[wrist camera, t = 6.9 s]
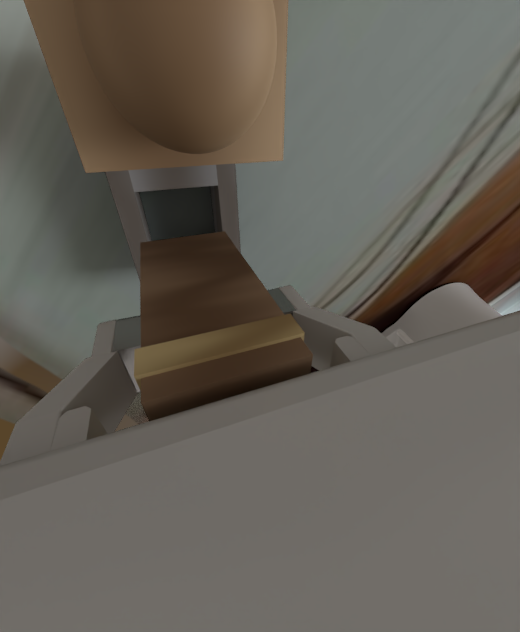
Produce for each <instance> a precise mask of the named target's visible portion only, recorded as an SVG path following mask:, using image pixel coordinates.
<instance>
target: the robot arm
mask: <svg viewBox="0 0 520 632" xmlns="http://www.w3.org/2000/svg"><path fill="white" fill-rule="evenodd" d="M267 291H268V292H269V294H270V295H271V297H272V298H273V299H274V301H275V302H276V304H277V305H278V306H279V308H280V309H281V311H282V312H283V313H284V315H286V314H291V315H292V316H293V318H294V319H295V320H296V322H297V323H298V324H299V326H300V327H301V328H302V330H303V331H304V332H305V336H304V343H305V344H306V345H307V347H308V348H309V350H310V351H311V352H312V354H313V359H312V365H311V366H313V367H314V368H316V369H317V370H319V371H316V372H313V373H310V374H306V375H303V376H299V377H296V378H293V379H289V380H286V381H283V382H279V383H276V384H272V385H269V386H266V387H262V388H259V389H256V390H252V391H249V392H246V393H242V394H239V395H236V396H232V397H229V398H226V399H222V400H219V401H216V402H212V403H209V404H206V405H202V406H199V407H196V408H192V409H189V410H186V411H182V412H179V413H176V414H172V415H169V416H166V417H162V418H159V419H156V420H152V421H149V422H146V423H142V424H139V425H135V426H132V427H129V428H125V429H122V430H119V431H115V430H116V428H117V426H118V425H119V423H120V421H121V420H122V418H123V416H124V415H125V413H126V411H127V410H128V408H129V406H130V405H131V403H132V401H133V400H134V398H135V396H136V395H137V393H136V392H140V389H139V386H138V384H137V382H136V380H135V378H134V353H135V349H138V348H141V315H140V316H135V317H129V318H124V319H118V320H112V321H107V322H103V323H100V324H98V327H97V331H96V336H95V341H94V346H93V351H92V356H91V357H89V358H86V359H85V360H84V361H82V362H81V363H80V364H79V365H78V366H77V367H76V368H75V369H74V370H73V371H72V372H71V373H70V374H68V375H67V376H66V377H65V378H64V379H63V380H62V381H61V382H60V383H59V384H58V385H57V386H56V387H54V388H53V389H52V390H51V391H50V392H49V393H48V394H47V395H46V396H45V397H44V398H43V399H42V400H40V401H39V402H38V403H37V404H36V405H35V406H34V407H33V408H32V409H31V410H30V411H29V412H28V413H26V414H25V415H24V416H23V417H22V418H21V419H20V420H19V421H18V422H17V423H16V424H15V427H14V430H13V432H12V434H11V437H10V439H9V442H8V444H7V446H6V449H5V452H4V454H3V456H2V459H1V461H0V632H520V311H517V312H514V313H510V314H507V315H504V316H502V315H501V314H500V313H498V312H497V311H495V310H494V309H493V308H492V307H490V306H489V305H488V304H487V303H486V302H484V301H483V300H482V299H481V298H480V297H479V296H478V295H477V294H476V293H475V292H474V291H473V290H472V289H471V288H470V287H469V286H468V285H467V284H464V283H451V284H447V285H444V286H442V287H439V288H437V289H435V290H433V291H432V292H430V293H428V294H427V295H425V296H424V297H422V298H421V299H420V300H418V301H417V302H416V303H415V304H414V305H413V306H412V307H410V308H409V309H408V310H407V312H406V313H405V314H404V315H403V316H402V317H401V318H400V319H399V320H398V321H397V322H396V323H395V324H393V325H392V326H390V327H389V328H387V329H386V330H385V331H383V332H382V333H380V332H379V331H378V330H377V329H376V328H374V327H372V326H369V325H366V324H363V323H360V322H357V321H354V320H352V319H349V318H346V317H343V316H340V315H337V314H334V313H332V312H329V311H326V310H323V309H320V308H317V307H315V306H314V307H310V306H309V305H308V304H307V303H306V301H305V300H304V299H303V298H302V297H301V296H300V295H299V294H298V293H297V291H296V290H295V289H294V288H293V287H292V286H290V285H288V286H284V287H279V288H276V289H271V290H267Z"/></svg>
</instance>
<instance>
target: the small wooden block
mask: <svg viewBox="0 0 520 632" xmlns="http://www.w3.org/2000/svg"><path fill="white" fill-rule="evenodd" d="M140 297H141V348H138V349H135V353H134V378H135V380H136V382H137V384H138V386H139V389H140V391H141V404H142V406H143V408H144V411H145V413H146V415H147V417H148V419H149V421H152V420H156V419H159V418H162V417H166V416H169V415H172V414H176V413H179V412H182V411H186V410H189V409H192V408H196V407H199V406H202V405H206V404H209V403H212V402H216V401H219V400H222V399H226V398H229V397H232V396H236V395H239V394H242V393H246V392H249V391H252V390H256V389H259V388H262V387H266V386H269V385H272V384H276V383H279V382H283V381H286V380H289V379H293V378H296V377H299V376H303V375H306V374H310V372H311V365H312V359H313V354H312V352H311V351H310V350H309V348H308V347H307V345H306V344H305V343H304V336H305V332H304V331H303V330H302V328H301V327H300V326H299V324H298V323H297V322H296V320H295V319H294V318H293V316H292V315H291V314H286V315H284V313H283V312H282V311H281V309H280V308H279V306H278V305H277V304H276V302H275V301H274V299H273V298H272V297H271V295H270V294H269V292H268V291H267V290H266V288H265V287H264V285H263V284H262V283H261V281H260V280H259V278H258V277H257V276H256V274H255V273H254V272H253V270H252V269H251V267H250V266H249V265H248V263H247V262H246V260H245V259H244V258H243V256H242V255H241V253H240V252H239V251H238V249H237V248H236V246H235V245H234V244H233V242H232V241H231V239H230V238H229V237H228V235H227V234H226V232H225V231H223V232H216V233H208V234H201V235H193V236H186V237H178V238H171V239H163V240H156V241H148V242H141V243H140Z"/></svg>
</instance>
